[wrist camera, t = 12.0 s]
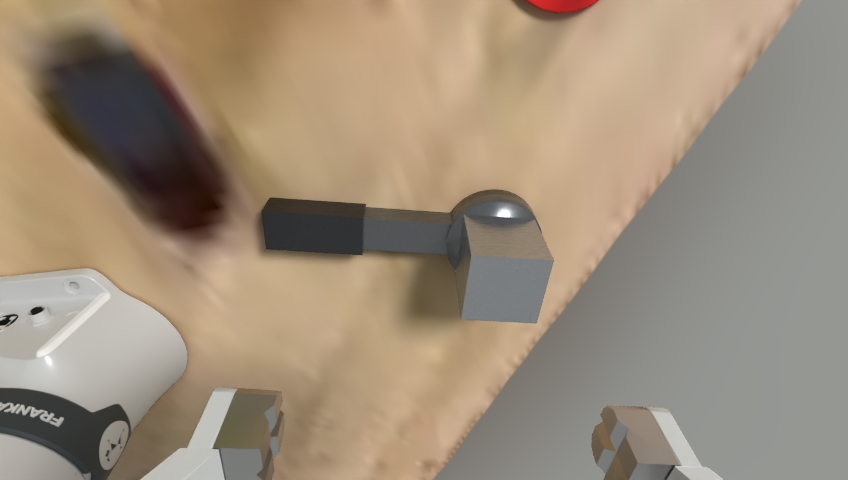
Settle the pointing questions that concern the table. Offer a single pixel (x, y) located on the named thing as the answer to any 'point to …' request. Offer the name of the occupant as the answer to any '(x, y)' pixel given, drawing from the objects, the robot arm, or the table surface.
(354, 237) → the ratchet
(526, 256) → the grey wooden cube
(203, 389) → the table surface
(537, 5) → the tow hook
